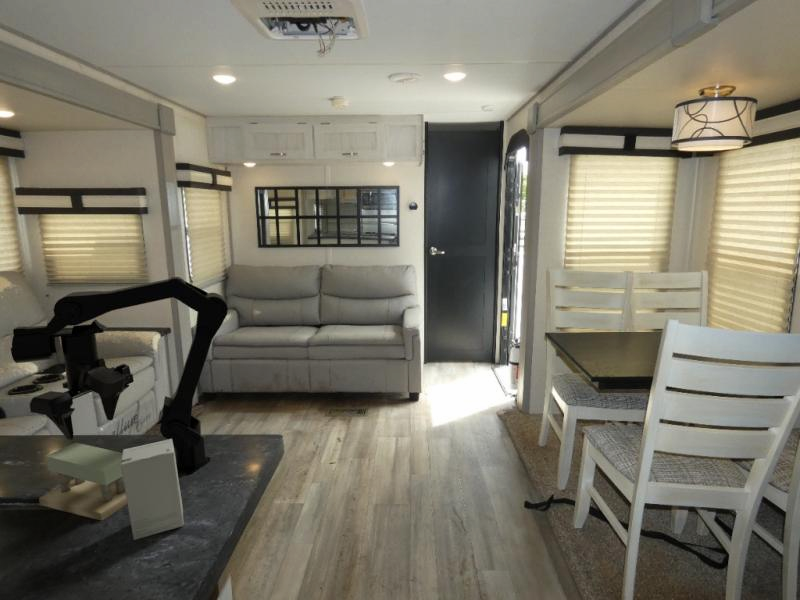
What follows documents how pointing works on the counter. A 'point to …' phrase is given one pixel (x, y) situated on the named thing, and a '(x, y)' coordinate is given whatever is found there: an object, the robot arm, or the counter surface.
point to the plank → (86, 463)
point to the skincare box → (152, 488)
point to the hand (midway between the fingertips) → (91, 429)
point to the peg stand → (86, 497)
